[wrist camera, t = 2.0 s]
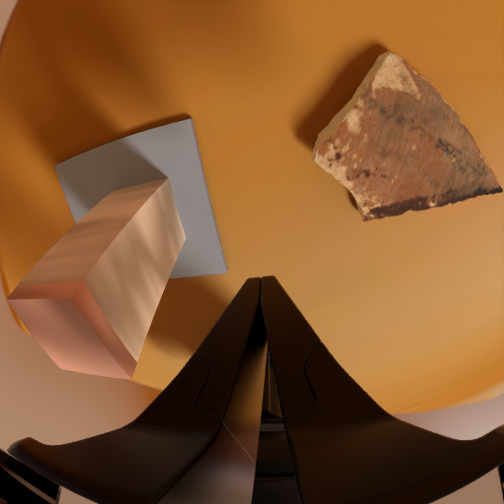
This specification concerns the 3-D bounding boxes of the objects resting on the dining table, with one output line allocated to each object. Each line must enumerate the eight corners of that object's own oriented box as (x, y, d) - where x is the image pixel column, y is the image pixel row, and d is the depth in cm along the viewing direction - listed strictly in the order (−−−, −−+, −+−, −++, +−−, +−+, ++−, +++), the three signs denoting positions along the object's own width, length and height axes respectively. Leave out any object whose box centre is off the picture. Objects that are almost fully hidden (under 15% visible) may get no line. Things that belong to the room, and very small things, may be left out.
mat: (227, 269, 18) (227, 272, 18) (107, 281, 20) (105, 284, 19) (191, 118, 13) (190, 119, 13) (58, 163, 14) (54, 165, 14)
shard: (489, 182, 14) (506, 193, 12) (421, 266, 19) (433, 283, 17) (380, 48, 11) (397, 43, 9) (292, 164, 15) (296, 175, 13)
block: (186, 237, 17) (131, 379, 8) (131, 246, 17) (60, 368, 9) (168, 177, 15) (71, 297, 6) (111, 191, 15) (6, 299, 7)
